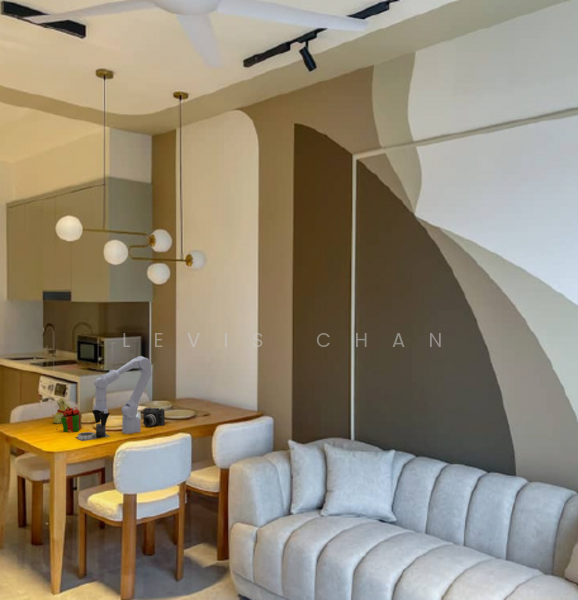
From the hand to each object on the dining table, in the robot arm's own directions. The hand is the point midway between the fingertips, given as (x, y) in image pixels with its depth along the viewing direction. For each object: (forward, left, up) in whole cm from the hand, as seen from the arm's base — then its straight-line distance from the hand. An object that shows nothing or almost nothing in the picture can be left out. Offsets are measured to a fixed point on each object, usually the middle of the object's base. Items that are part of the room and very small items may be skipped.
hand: (100, 424), depth 325 cm
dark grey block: (0, 0, -6) cm, 6 cm away
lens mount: (+4, 0, -7) cm, 9 cm away
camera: (-35, -8, -8) cm, 36 cm away
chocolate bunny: (+4, -46, -8) cm, 47 cm away
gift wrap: (+9, -19, -8) cm, 23 cm away
